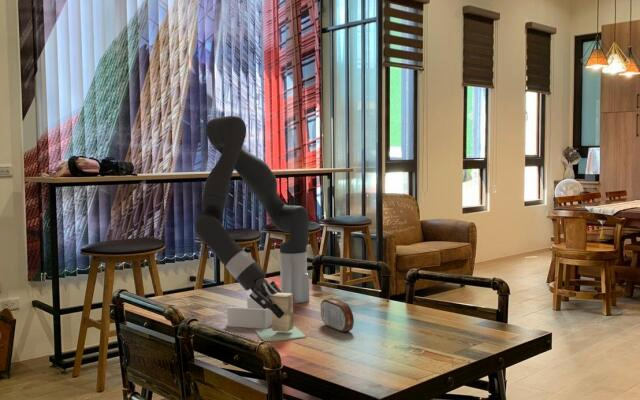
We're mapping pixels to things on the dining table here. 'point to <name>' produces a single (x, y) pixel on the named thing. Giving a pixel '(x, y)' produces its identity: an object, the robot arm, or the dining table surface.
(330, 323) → the tin
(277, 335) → the sage mat
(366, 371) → the dining table surface
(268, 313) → the box
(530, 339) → the dining table surface
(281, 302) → the maple block
